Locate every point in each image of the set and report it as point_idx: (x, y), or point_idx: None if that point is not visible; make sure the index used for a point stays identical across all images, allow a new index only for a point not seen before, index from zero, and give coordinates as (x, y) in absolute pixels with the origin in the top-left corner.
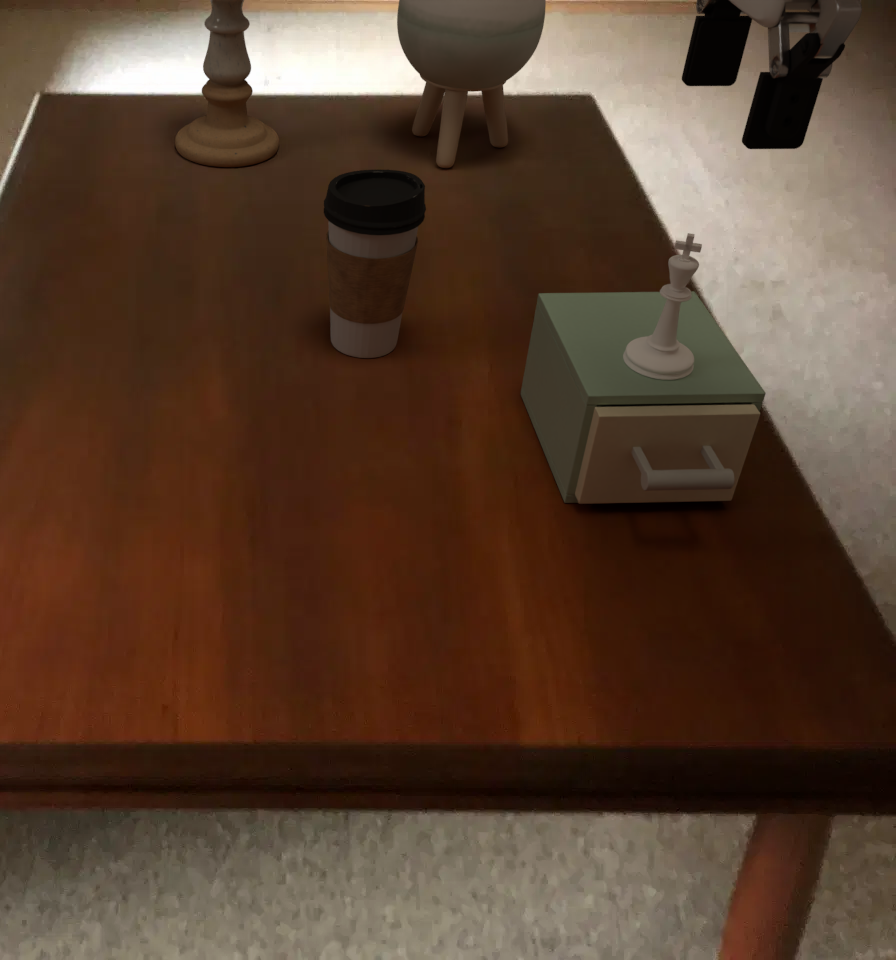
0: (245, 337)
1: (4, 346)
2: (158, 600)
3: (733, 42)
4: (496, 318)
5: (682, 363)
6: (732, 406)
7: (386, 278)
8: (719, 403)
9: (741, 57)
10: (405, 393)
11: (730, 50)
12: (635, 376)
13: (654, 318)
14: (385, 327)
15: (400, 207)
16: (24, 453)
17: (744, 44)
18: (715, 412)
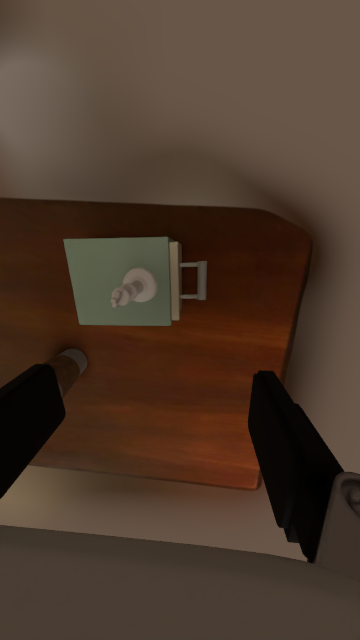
0: (79, 397)
1: (96, 460)
2: (216, 427)
3: (7, 422)
4: (46, 305)
5: (150, 278)
6: (171, 254)
7: (67, 378)
8: None
9: (22, 388)
10: (109, 350)
11: (19, 413)
12: (154, 300)
13: (97, 272)
14: (78, 362)
15: None
16: (151, 454)
17: (4, 403)
18: (176, 265)
